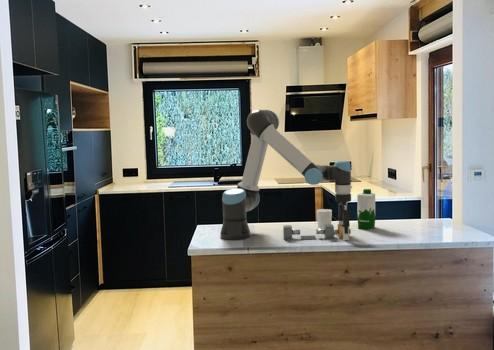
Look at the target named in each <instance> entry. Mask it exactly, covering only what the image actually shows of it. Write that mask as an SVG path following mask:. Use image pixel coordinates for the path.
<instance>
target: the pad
mask: <svg viewBox="0 0 494 350" xmlns="http://www.w3.org/2000/svg"><path fill="white" fill-rule="evenodd" d="M300 239H301V240H302V241H304V240H305V241H309V240H310V241H311V240H312V239H313V240H314V239H315V240H317V238H316V235H300Z"/></svg>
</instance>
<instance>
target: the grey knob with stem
mask: <svg viewBox="0 0 494 350" xmlns="http://www.w3.org/2000/svg"><path fill="white" fill-rule="evenodd" d="M334 227H335V226H334V225H333V223H331V224H324V229H318V228H317V229H316V231H315V232H316V233H315V234H316V235H323V237H324V239H325V240H328V239H329V240H330V239H331V240H334V239H335V236H334V235H335V232H334V231H335V230H334V229H335V228H334Z"/></svg>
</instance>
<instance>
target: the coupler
mask: <svg viewBox="0 0 494 350" xmlns="http://www.w3.org/2000/svg"><path fill="white" fill-rule="evenodd" d="M342 225H343V224H339V223H338V224H337V228H336V229H335V232H336V235H337V238H338V239H342V240H343V227H342ZM351 233H352V230H351V228H349V239H350V235H351Z"/></svg>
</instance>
